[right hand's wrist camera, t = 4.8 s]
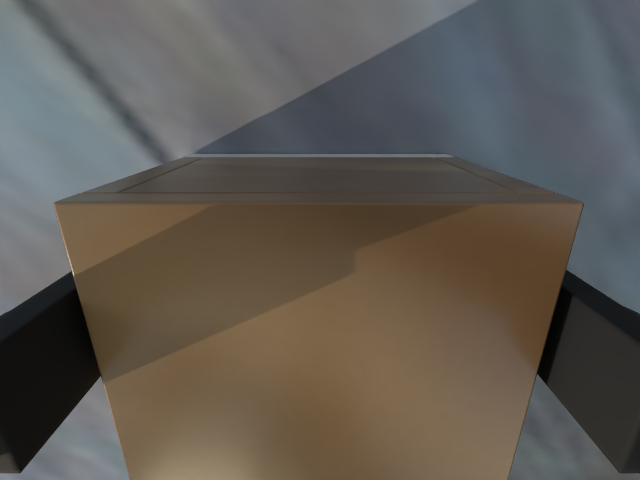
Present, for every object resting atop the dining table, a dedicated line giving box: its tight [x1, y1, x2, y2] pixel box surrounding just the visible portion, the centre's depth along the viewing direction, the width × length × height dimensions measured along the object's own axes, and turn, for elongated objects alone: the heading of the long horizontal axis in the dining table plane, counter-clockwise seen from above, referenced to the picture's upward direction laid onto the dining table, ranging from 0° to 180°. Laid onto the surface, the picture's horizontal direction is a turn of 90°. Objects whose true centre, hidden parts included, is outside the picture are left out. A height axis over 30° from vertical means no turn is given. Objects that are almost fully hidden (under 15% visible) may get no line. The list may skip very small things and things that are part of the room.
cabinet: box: [54, 154, 583, 480], centre depth 15 cm, size 20×11×8 cm, turn 0°
